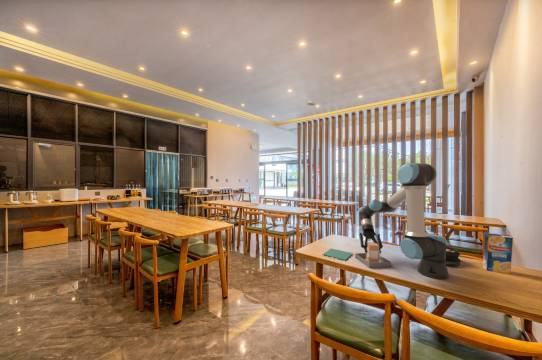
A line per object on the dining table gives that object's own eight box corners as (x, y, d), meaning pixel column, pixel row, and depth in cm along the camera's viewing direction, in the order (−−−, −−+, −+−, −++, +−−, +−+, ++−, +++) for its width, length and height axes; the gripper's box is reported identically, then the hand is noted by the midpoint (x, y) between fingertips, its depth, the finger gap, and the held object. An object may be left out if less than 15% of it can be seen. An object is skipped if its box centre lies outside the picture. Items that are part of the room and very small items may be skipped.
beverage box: (510, 274, 139) (513, 237, 139) (486, 270, 144) (488, 235, 144) (505, 270, 145) (508, 235, 145) (482, 266, 151) (484, 232, 150)
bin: (390, 266, 146) (391, 262, 146) (369, 267, 144) (369, 263, 144) (374, 257, 163) (375, 252, 163) (355, 257, 161) (355, 253, 160)
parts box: (375, 260, 156) (376, 242, 156) (378, 264, 150) (379, 245, 150) (366, 260, 157) (366, 242, 156) (368, 263, 151) (369, 245, 150)
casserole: (423, 252, 175) (424, 241, 174) (453, 256, 168) (454, 244, 168) (432, 264, 152) (433, 252, 151) (468, 269, 145) (469, 256, 144)
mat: (352, 254, 167) (352, 253, 167) (345, 260, 154) (345, 259, 154) (331, 249, 177) (331, 248, 177) (322, 255, 164) (322, 254, 164)
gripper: (379, 230, 167) (388, 261, 151) (352, 228, 169) (357, 259, 153) (383, 224, 162) (391, 256, 146) (354, 223, 164) (360, 254, 148)
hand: (374, 257), depth 150 cm, fingers closed on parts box, 6 cm apart
